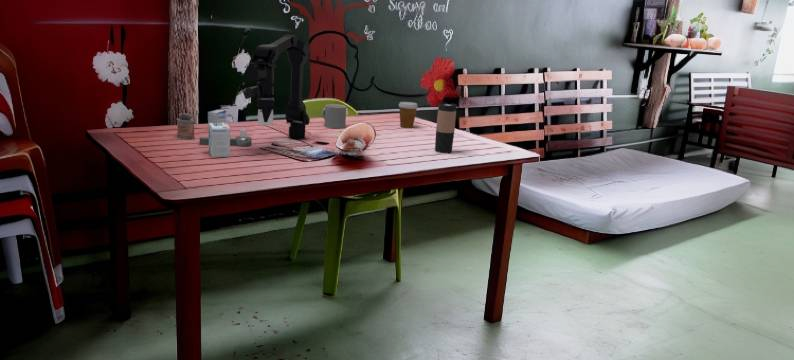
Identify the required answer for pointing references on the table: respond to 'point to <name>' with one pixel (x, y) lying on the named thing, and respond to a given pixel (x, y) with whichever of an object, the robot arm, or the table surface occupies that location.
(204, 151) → the table surface
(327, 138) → the table surface
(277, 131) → the table surface
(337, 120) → the coffee mug
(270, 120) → the socket
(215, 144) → the light bulb box
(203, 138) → the ratchet
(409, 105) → the disposable coffee cup
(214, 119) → the medicine box
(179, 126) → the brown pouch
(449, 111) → the travel mug
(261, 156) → the table surface
